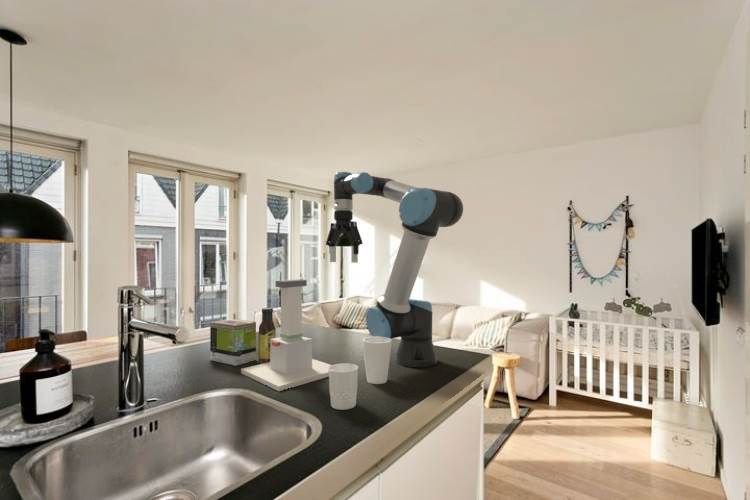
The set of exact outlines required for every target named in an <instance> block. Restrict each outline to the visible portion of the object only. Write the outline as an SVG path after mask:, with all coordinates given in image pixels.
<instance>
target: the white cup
mask: <svg viewBox="0 0 750 500" xmlns="http://www.w3.org/2000/svg"><path fill="white" fill-rule="evenodd" d="M330 365H331V366H330V367H329V377H328V385H329V396H330V407H331V408H333V409H335V410H341V411H345V410H350V409H353V408H355V407H356V406H357V393H358V381H359V380H358V378H359V377H358V376H359V366H358V365H357V364H354V363H349V362H344V363H343V362H342V363H341V362H340V363H335V364H330Z"/></svg>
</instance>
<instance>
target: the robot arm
mask: <svg viewBox="0 0 750 500" xmlns="http://www.w3.org/2000/svg"><path fill="white" fill-rule="evenodd" d="M333 180H334V181H333V198H334V201H333V202H334V204H333V206H334V207H333V208H334V211H333V215H334V216H333V218H334V221H335V222H331V223H330V228H329V232H328V235H327V238H326V241H325V245H326V246H328V247H329V249H328V251H329V252H328V253H329V262H330V263H336V262H337V246H336V244H337V242H338V240H339V239H340V237H341V236H342V234H346V235H347V238H348V239H349V241H350V243H351V249H350V250H351V258H350V259H351V261H350V262H351V263H359V261H358V260H359V257H358V255H359V248H360V247H359V246H360V245H363V241H362V240H363V239H362V237H361V234H360V231H359V228H358V223H357V221H353V215H354V214H353V211H352V210H353V208H354V206H353V205H354V204H353V202H354V201H353V196H354V195H357V194H360V195H369V196H377V197H382V198H383V199H384V198H385V199H388V200H391V201H393V202H397V203H399V206H398V212H399V215H398V216H399V219H400V221H401V227H402V229H403V234H402V239H401V240H400V243H399V246H398V249H397V254H396V256H395V260H394V262H393V266H392V268H391V272H390V276H389V278H388V282H387V284H386V288H385V290H384V293H383V294H382V295H379V297H378V298H377V302H376V304H375V305H374V306H371V307H369V308H368V309H367V311H366V312H365V313H366V314H365V323H366V324H365V325H366V327H367V331H368V332H369V334H370V335H371V337H373V336H381V337H388V338H391V339H392V340H393V339H397V338H400V343H399V345H398V349H397V352H396V356H395V361H396V363H397V364H399V365H401V366H403V367H408V368H429V367H432V366H435V365H437V363H438V356H437V353H436V350H435V347H434V343H433V307H432V305H433V304H432V303H431V302H430V301H427V300H422V299H413V298H412V299H410V297H411V295H412V292H413V289H414V286H415V284H416V281H417V277H418V275H419V272H420V269H421V266H422V263H423V260H424V258H425V254H426V252H427V249H428V245H429V243H430V240H431V239H433V238H436V236H438V235H437V234H438V231H439V230H440V229H439V228H448V227H452V226H454V225H455V224H457V223H458V222H459V221H460V220H461V219H462V217H463V214H464V213H463V212H464V204H463V201H462V199H461V198H460V197H459V196H458V195H457V194H456V193H453V192H451V191H446V190H445V191H444V190H439V189H434V188H428V187H416V186H413V185H410V184H406V183H403V182H400V181H396V180H394V179H392V178H388V177H379V176H374V175H370V174H369V172H365V171H364V172H356V173H354V174H352V173H351V172H349V171H339V172H335V174H334V179H333Z"/></svg>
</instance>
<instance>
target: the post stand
mask: <svg viewBox="0 0 750 500" xmlns="http://www.w3.org/2000/svg"><path fill="white" fill-rule="evenodd" d="M331 365H332V364H329V363H327V362H323V361H320V360H317V359H314V358H313V338H310V337H306V336H303V337H302V339H301V340H296V341H291V342H287V341H284V340H281V337H280V336H279V337H276V338H273V339H270V362H268V363H259V364H256V365H252V366H247V367H242V368H240V374H242V375H243V376H246V377H247V378H251V379H253V380H255V381H256V382H258V383H261V384H263V385H265V386H266V385H267V387H269V388H270V389H273V390H275V391H277V392H281V391H284V389H285V390H288V388H289V389H291V387H292V388H294V387H297V386H302V385H305V384H308V383H311V382H315V381H319V380H322V379H325V378H329V367H330V366H331Z"/></svg>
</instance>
